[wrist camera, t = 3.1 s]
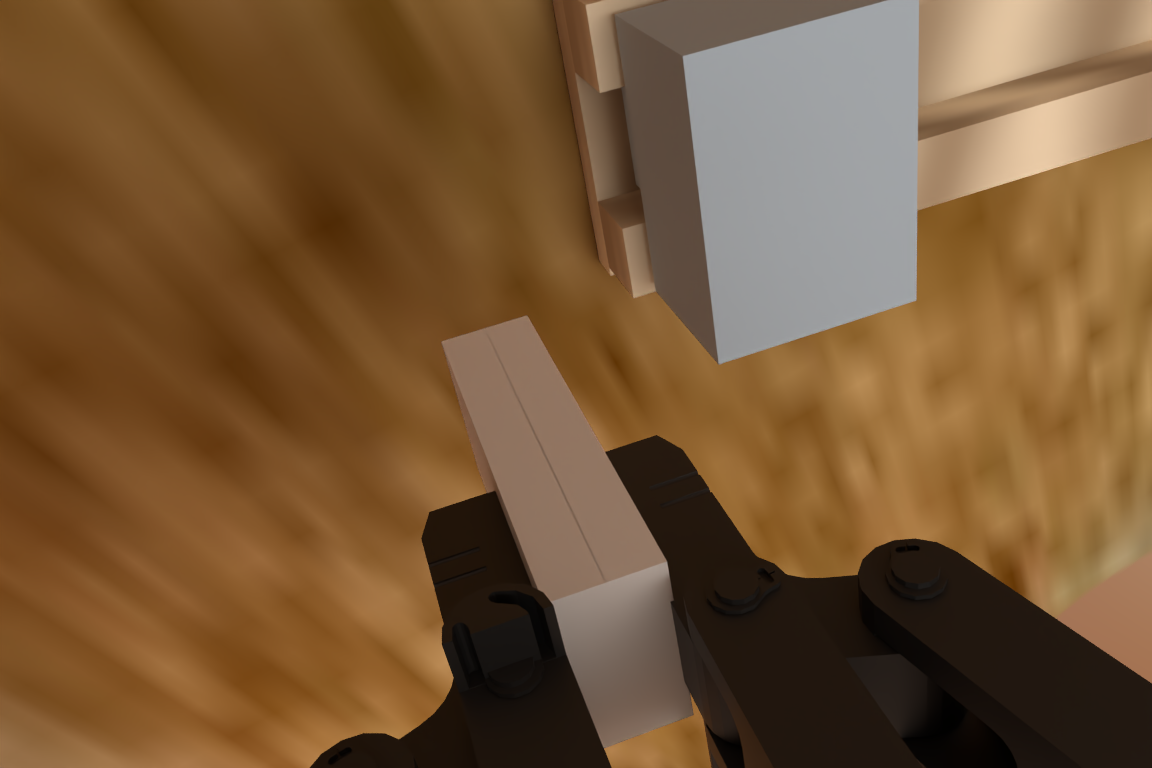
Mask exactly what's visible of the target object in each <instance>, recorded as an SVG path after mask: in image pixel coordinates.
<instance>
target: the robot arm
mask: <svg viewBox="0 0 1152 768" xmlns="http://www.w3.org/2000/svg"><path fill="white" fill-rule="evenodd" d="M441 342H442V346H443V349H444V353H445V356H446V360H447V363H448V367H449V370H450V374H451V377H452V380H453V384H454V387H455V391H456V394H457V398H458V401H459V405H460V408H461V411H462V415H463V418H464V422H465V425H466V429H467V432H468V436H469V439H470V443H471V446H472V449H473V453H474V456H475V460H476V463H477V467H478V470H479V473H480V475H481V478H482V481H483V483H484V486H485V489H486V492H487V493H486V494H483V495H480V496H477V497H474V498H471V499H468V500H465V501H462V502H459V503H456V504H453V505H450V506H446V507H443V508H440V509H437V510H434V511H431V512H429V516H428V519H427V522H426V525H425V529H424V532H423V535H422V538H421V539H422V543H423V546H424V550H425V554H426V558H427V562H428V565H429V569H430V573H431V577H432V581H433V584H434V587H435V592H436V596H437V600H438V603H439V607H440V611H441V615H442V618H443V622H444V625H443V627H442V646H443V649H444V652H445V655H446V657H447V660H448V663H449V666H450V669H451V671H452V674H453V677H454V679H453V683H452V687H451V689H450V691H449V693H448V695H447V697H446V699H445V701H444V702H443V703H442V704H441V706H440V707H439V708H438V709H437V711H436V712H435V713H434V714H433V715H432V716H431V717H429V718H428V719H427V720H426V721H425V722H423V723H422V724H421V725H420V726H418V727H417V728H415V729H414V730H412V731H411V732H409V733H408V734H407V735H405V736H404V737H402V738H401V739H396V738H394V737H392V736H389V735H387V734H382V733H363V734H360V735H357V736H354V737H351V738H348V739H345V740H342V741H340V742H339V743H337V744H336V745H334V746H333V747H331V748H330V749H328V750H327V751H325V752H324V753H322V754H321V755H320V756H319V757H318V759H317V760H316V761H315V762H314V763H313V765H312V766H311V767H310V768H611V765H610V763H609V760H608V758H607V755H606V753H605V750H604V748H606V747H609V746H612V745H614V744H617V743H620V742H622V741H625V740H628V739H630V738H633V737H636V736H638V735H641V734H644V733H646V732H649V731H652V730H654V729H657V728H660V727H662V726H665V725H668V724H671V723H673V722H676V721H679V720H681V719H684V718H687V717H689V716H692V715H693V709H692V703H691V697H690V693H691V695H692V697H693V699H694V701H695V703H696V705H697V707H698V709H699V711H700V713H701V715H702V717H703V719H704V725H705V731H706V737H707V743H708V749H709V755H710V761H711V767H712V768H1152V683H1150V682H1149V681H1147V680H1146V679H1144V678H1143V677H1141V676H1140V675H1138V674H1137V673H1135V672H1134V671H1132V670H1131V669H1129V668H1128V667H1126V666H1125V665H1124V664H1122V663H1120V662H1119V661H1118V660H1116V659H1115V658H1113V657H1112V656H1110V655H1109V654H1107V653H1106V652H1104V651H1103V650H1101V649H1100V648H1098V647H1097V646H1095V645H1094V644H1092V643H1091V642H1089V641H1088V640H1086V639H1085V638H1084V637H1082V636H1081V635H1079V634H1077V633H1076V632H1075V631H1073V630H1072V629H1070V628H1069V627H1067V626H1066V625H1064V624H1063V623H1061V622H1060V621H1058V620H1057V619H1055V618H1054V617H1052V616H1051V615H1050V614H1048V613H1047V612H1045V611H1044V610H1042V609H1041V608H1039V607H1038V606H1036V605H1035V604H1033V603H1032V602H1030V601H1029V600H1027V599H1026V598H1024V597H1023V596H1021V595H1020V594H1018V593H1017V592H1015V591H1014V590H1013V589H1011V588H1010V587H1008V586H1007V585H1005V584H1004V583H1002V582H1001V581H999V580H998V579H996V578H995V577H993V576H992V575H990V574H989V573H987V572H986V571H984V570H983V569H981V568H980V567H978V566H977V565H976V564H974V563H973V562H971V561H970V560H968V559H967V558H965V557H964V556H962V555H961V554H959V553H958V552H956V551H954V550H952V549H950V548H948V547H946V546H944V545H941V544H939V543H937V542H932V541H926V540H920V539H905V540H894V541H891V542H889V543H886V544H884V545H881V546H879V547H876V548H875V549H874V550H872V551H871V552H870V553H869V554H868V555H867V556H866V557H865V558H864V559H863V560H862V563H861V566H860V569H859V572H858V575H853V576H841V577H829V578H802V577H796V576H790V575H787V574H785V573H784V572H783V571H782V570H781V569H780V568H779V567H777V566H776V565H775V564H774V563H771V562H769V561H766V560H764V559H761V558H759V557H757V556H756V555H755V554H754V553H753V552H752V550H751V549H750V547H749V546H748V544H747V543H746V541H745V540H744V538H743V537H742V536H741V534H740V533H739V531H738V530H737V528H736V527H735V525H734V524H733V522H732V521H731V519H730V518H729V517H728V515H727V514H726V512H725V511H724V509H723V508H722V506H721V505H720V503H719V502H718V501H717V499H716V498H715V496H714V495H713V493H712V492H711V493H710V490H709V487H708V486H707V484H706V483H705V482H704V480H703V479H702V477H701V476H700V475H698V472H697V470H696V468H695V467H694V465H693V464H692V463H691V461H690V460H689V458H688V457H687V455H686V454H685V452H684V451H683V450H682V449H681V448H679V447H677V446H675V445H674V444H672V443H670V442H668V441H666V440H665V439H663V438H661V437H659V436H657V435H656V436H653V437H650V438H647V439H644V440H641V441H637V442H634V443H631V444H628V445H625V446H622V447H619V448H616V449H613V450H610V451H607V452H605V451H604V450H603V448H602V446H601V444H600V443H599V441H598V439H597V437H596V436H595V434H594V432H593V430H592V429H591V427H590V425H589V423H588V421H587V420H586V418H585V416H584V414H583V413H582V411H581V409H580V407H579V406H578V404H577V402H576V400H575V399H574V397H573V395H572V393H571V392H570V390H569V388H568V386H567V385H566V383H565V381H564V379H563V377H562V376H561V374H560V372H559V370H558V369H557V367H556V365H555V363H554V362H553V360H552V358H551V356H550V355H549V353H548V351H547V349H546V348H545V346H544V344H543V342H542V340H541V339H540V337H539V335H538V333H537V332H536V330H535V328H534V326H533V325H532V323H531V321H530V319H529V318H528V316H523V317H520V318H517V319H514V320H510V321H507V322H504V323H500V324H497V325H494V326H490V327H487V328H484V329H481V330H477V331H474V332H471V333H467V334H464V335H461V336H458V337H454V338H451V339H448V340H444V341H441Z"/></svg>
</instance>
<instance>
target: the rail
mask: <svg viewBox="0 0 1152 768" xmlns="http://www.w3.org/2000/svg"><path fill="white" fill-rule="evenodd" d="M552 1H553V7H554V12H555V18H556V23H557V29H558V35H559V40H560V46H561V51H562V57H563V62H564V68H565V73H566V79H567V84H568V90H569V95H570V101H571V106H572V112H573V118H574V123H575V129H576V134H577V140H578V145H579V151H580V156H581V162H582V167H583V173H584V178H585V184H586V189H587V195H588V200H589V206H590V212H591V217H592V223H593V228H594V234H595V239H596V245H597V250H598V256H599V261H600V263H601V264H602V265H603V267H604V268H605V269H606V270H607V272H608V273H609V274H610V275H615V276H616V277H617V278H618V279H619V281H620V282H621V283H622V284H623V286H624V287H625V288H626V289H627V290H628V292H629V293H630V294H631V295H632V297H633V298H636V297H639V296H642V295H646V294H649V293H652V292H655V291H656V290H655V283H654V276H653V269H652V263H651V256H650V249H649V243H648V236H647V229H646V223H645V216H644V209H643V203H642V196H641V189H640V188H639V187H638V186H637V185H636V181H635V175H634V168H633V161H632V155H631V148H630V142H629V135H628V128H627V122H626V115H625V109H624V102H623V96H622V89H621V87H624V86H625V82H624V76H623V69H622V62H621V56H620V49H619V42H618V36H617V29H616V22H615V16H614V15H615V14H618V13H622V12H626V11H630V10H634V9H637V8H641V7H645V6H649V5H653V4H656V3H660V2H664V1H668V0H552ZM1150 138H1152V0H919V60H918V168H917V210H921V209H924V208H927V207H930V206H933V205H937V204H940V203H943V202H946V201H950V200H953V199H956V198H959V197H963V196H966V195H969V194H972V193H975V192H979V191H982V190H985V189H988V188H992V187H995V186H998V185H1001V184H1005V183H1008V182H1011V181H1014V180H1018V179H1021V178H1024V177H1027V176H1030V175H1034V174H1037V173H1040V172H1043V171H1047V170H1050V169H1053V168H1056V167H1060V166H1063V165H1066V164H1069V163H1072V162H1076V161H1079V160H1082V159H1085V158H1089V157H1092V156H1095V155H1098V154H1102V153H1105V152H1108V151H1111V150H1115V149H1118V148H1121V147H1124V146H1127V145H1131V144H1134V143H1137V142H1140V141H1144V140H1147V139H1150Z"/></svg>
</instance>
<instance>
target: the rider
mask: <svg viewBox="0 0 1152 768" xmlns="http://www.w3.org/2000/svg"><path fill="white" fill-rule="evenodd" d="M614 16H615V22H616V29H617V36H618V42H619V49H620V56H621V62H622V69H623V76H624V82H625V86H624V87H621V89H622V96H623V102H624V109H625V115H626V122H627V128H628V135H629V142H630V148H631V155H632V161H633V168H634V175H635V181H636V185H637V186H638V187H639V188H640V189H641V196H642V203H643V209H644V216H645V223H646V229H647V236H648V243H649V249H650V256H651V263H652V269H653V276H654V283H655V290H656V292H657V293H658V294H659V295H660V296H661V298H662V299H663V300H664V301H665V302H666V303H667V305H668V306H669V307H670V308H671V309H672V310H673V312H674V313H675V314H676V315H677V316H678V317H679V319H680V320H681V321H682V322H683V323H684V324H685V326H686V327H687V328H688V329H689V330H690V332H691V333H692V334H693V335H694V336H695V337H696V339H697V340H698V341H699V342H700V343H701V344H702V346H703V347H704V348H705V349H706V350H707V351H708V353H709V354H710V355H711V356H712V357H713V358H714V360H715V361H716V362H717V363H718V364H722V363H725V362H728V361H731V360H734V359H737V358H740V357H743V356H746V355H749V354H752V353H756V352H759V351H762V350H765V349H768V348H771V347H774V346H777V345H780V344H783V343H786V342H789V341H793V340H796V339H799V338H802V337H805V336H808V335H811V334H814V333H817V332H820V331H823V330H826V329H830V328H833V327H836V326H839V325H842V324H845V323H848V322H851V321H854V320H857V319H860V318H864V317H867V316H870V315H873V314H876V313H879V312H882V311H885V310H888V309H891V308H894V307H897V306H901V305H904V304H907V303H910V302H913V301H916V276H917V168H918V60H919V0H668V1H664V2H660V3H656V4H653V5H649V6H645V7H641V8H637V9H634V10H630V11H626V12H622V13H618V14H615V15H614Z"/></svg>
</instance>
